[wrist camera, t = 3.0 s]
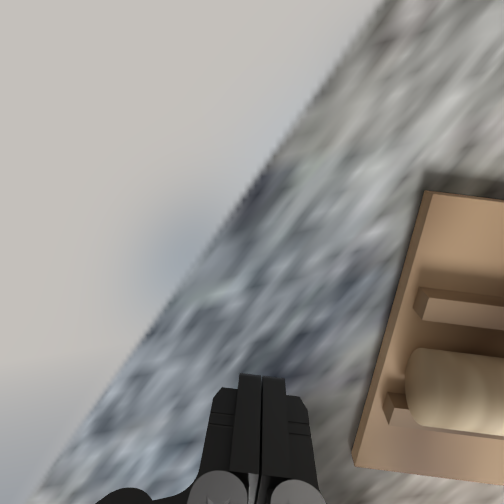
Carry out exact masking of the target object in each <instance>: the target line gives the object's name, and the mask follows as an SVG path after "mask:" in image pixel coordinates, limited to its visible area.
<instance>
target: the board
mask: <svg viewBox="0 0 504 504" xmlns="http://www.w3.org/2000/svg"><path fill="white" fill-rule="evenodd" d="M417 348H427V349H435V350H443V351H451V352H459V353H467V354H475V355H483V356H491V357H499V358H504V200H500V199H491V198H483V197H475V196H467V195H459V194H451V193H443V192H435V191H427V190H425V191H424V194H423V198H422V202H421V205H420V209H419V212H418V216H417V219H416V223H415V227H414V230H413V234H412V237H411V241H410V245H409V248H408V252H407V255H406V259H405V262H404V266H403V270H402V273H401V277H400V280H399V284H398V288H397V291H396V295H395V298H394V302H393V305H392V309H391V313H390V316H389V320H388V323H387V327H386V331H385V334H384V338H383V341H382V345H381V348H380V352H379V356H378V359H377V363H376V366H375V370H374V374H373V377H372V381H371V384H370V388H369V391H368V395H367V399H366V402H365V406H364V409H363V413H362V417H361V420H360V424H359V427H358V431H357V435H356V438H355V442H354V445H353V449H352V452H351V454H352V458H353V462H354V466H355V467H363V468H370V469H378V470H386V471H394V472H402V473H409V474H417V475H425V476H433V477H441V478H448V479H456V480H464V481H472V482H479V483H487V484H495V485H503V486H504V436H498V435H490V434H483V433H475V432H467V431H459V430H451V429H443V428H435V427H428V426H422V425H419V424H418V423H417V422H416V421H415V420H414V418H413V417H412V415H411V413H410V411H409V408H408V404H407V400H406V394H405V372H406V367H407V363H408V360H409V358H410V356H411V354H412V353H413V351H414V350H416V349H417Z"/></svg>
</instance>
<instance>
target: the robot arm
mask: <svg viewBox="0 0 504 504" xmlns="http://www.w3.org/2000/svg"><path fill="white" fill-rule="evenodd" d="M96 504H327V503H326V501H325V500H324V498H323V497H322V495H321V493H320V490H319V488H318V483H317V476H316V469H315V461H314V454H313V447H312V440H311V433H310V426H309V418H308V411H307V408H306V407H305V405H304V404H303V402H302V400H301V399H300V397H297V396H289V395H286V389H285V379H284V378H278V377H270V376H263V377H262V381H261V375H253V374H244V373H240V375H239V382H238V389H232V388H224V387H222V388H221V389H220V390H219V392H218V393H217V394H216V395H215V397H214V398H213V402H212V407H211V413H210V417H209V422H208V428H207V433H206V438H205V443H204V448H203V453H202V458H201V464H200V469H199V472H198V475H197V477H196V479H195V480H194V482H193V483H192V484H191V485H190V486H189V487H188V488H187V489H186V490H184V491H183V492H181V493H179V494H177V495H175V496H171V497H167V498H163V499H158V500H153V501H152V499H151V498H150V496H149V495H148V494H147V493H145V492H144V491H142V490H140V489H137V488H122V489H119V490H116V491H114V492H111V493H110V494H108V495H107V496H105V497H104V498H102V499H101V500H100V501H98V502H97V503H96Z"/></svg>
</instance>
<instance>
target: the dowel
mask: <svg viewBox="0 0 504 504" xmlns="http://www.w3.org/2000/svg"><path fill="white" fill-rule="evenodd" d="M405 394H406V400H407V404H408V408H409V411H410V413H411V415H412V417H413V418H414V420H415V421H416V422H417V423H418V424H419V425H422V426H428V427H435V428H443V429H451V430H459V431H467V432H475V433H483V434H490V435H498V436H504V358H499V357H491V356H483V355H475V354H467V353H459V352H451V351H443V350H435V349H427V348H417V349H416V350H414V351H413V353H412V354H411V356H410V358H409V360H408V363H407V367H406V372H405Z"/></svg>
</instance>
